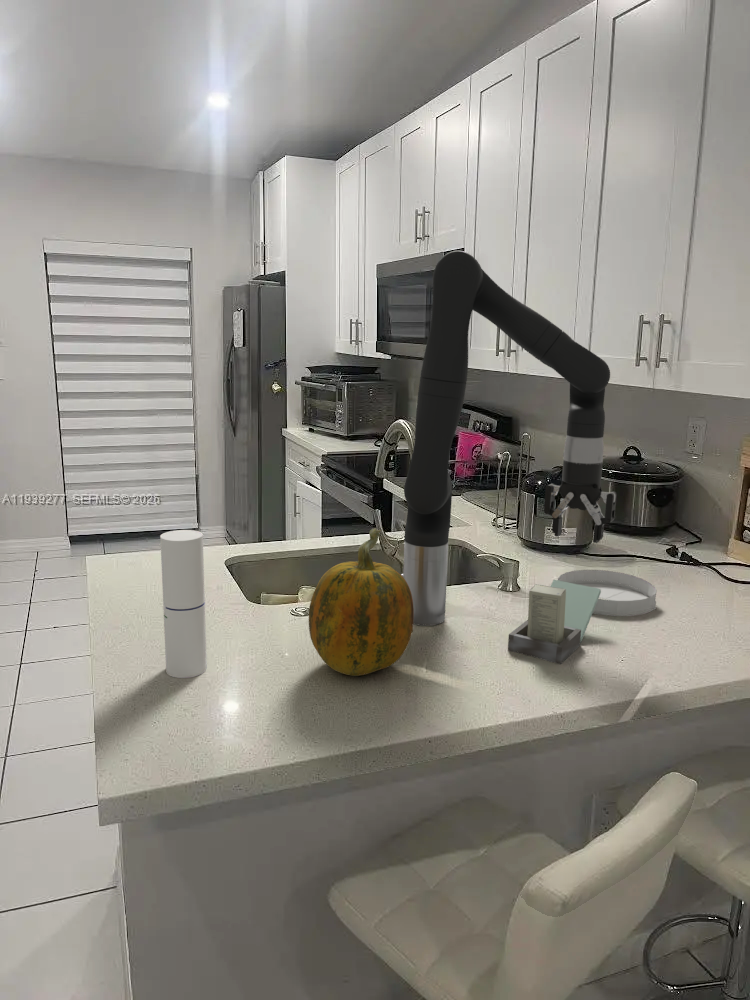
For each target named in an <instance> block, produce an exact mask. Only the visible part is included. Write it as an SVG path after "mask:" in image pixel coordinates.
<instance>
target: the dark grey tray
mask: <svg viewBox="0 0 750 1000" xmlns="http://www.w3.org/2000/svg"><path fill="white" fill-rule="evenodd" d="M527 632H528V619H527V620H525V621H524V622H523V623H522V624H520V625H519V626H518V627H516V628H515V629H514V630H512V631H511V632H510V633H508V640H507V651H510V652H513V653H517V654H521V655H525V656H529V657H533V658H536V659H539V660H544V661H547V662H550V663H555V664H557V665H558V664H559V665H562V664H563V662H566V660H567V659H568V658H569V657H570V656H571V655H572V654H573V653H574V652H575V651H576V650H577V649H578V648H579V647H581V643H580V639H581V630H580V629H576V628H572V627H567V626H564V637H563V641H562V642H561V643H560V644H559V645H558V644H554V643H550V642H546V641H542V640H538V639H534V638H531V637H527Z"/></svg>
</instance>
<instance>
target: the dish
mask: <svg viewBox="0 0 750 1000" xmlns="http://www.w3.org/2000/svg"><path fill="white" fill-rule="evenodd" d="M557 580H559V581H564V582H569V583H573V584H578V585H583V586H588V587H593V588H598V589H601V593H600V596H599V598H598V601H597V603H596V606H595V608H594V611H593V613H592V614H595V615H602V616H612V617H614V616H615V617H633V616H641V615H644V614H648V613H650V612H652V611H654V610H656V607H657V601H656V598H657V589H656V586H655V585H653V584H652V583H651V582H650V581H648V580H647V579H644V578H642V577H638V576H636V575H633V574H628V573H624V572H619V571H613V570H603V569H576V570H571V571H567V572H564V573H562V574H560V575H559V577H558V578H557Z"/></svg>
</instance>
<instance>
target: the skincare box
mask: <svg viewBox="0 0 750 1000" xmlns="http://www.w3.org/2000/svg"><path fill="white" fill-rule="evenodd" d="M550 586H551V585H542V584H534V585H533V586H532V587H531V588H530V589H529V590H528V611H527V612H528V613H527V616H528V617H527V620H528V632H527V637H531V638H534V639H538V640H542V641H546V642H550V643H554V644H558V645H559V644H560V643H561V642H562V641H563V637H564V620H565V602H566V589H563V588H556V587H550Z"/></svg>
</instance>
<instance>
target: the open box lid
mask: <svg viewBox="0 0 750 1000" xmlns="http://www.w3.org/2000/svg"><path fill="white" fill-rule="evenodd" d="M549 586H550V587H556V588H563V589H566V602H565V620H564V626H567V627H572V628H576V629H580V630H581V639H580V644H581V643H582V641H583V638H584V637H585V633H586V631H587V628H588V625H589V623H590V621H591V618H592V616H593V614H594V613H593V611H594V608H595V606H596V603H597V601H598V599H600V598H599V596H600V593H601V589H598V588H593V587H588V586H583V585H578V584H573V583H569V582H564V581H559V580H558V579H553V580H552V582H551V584H550V585H549Z"/></svg>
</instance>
